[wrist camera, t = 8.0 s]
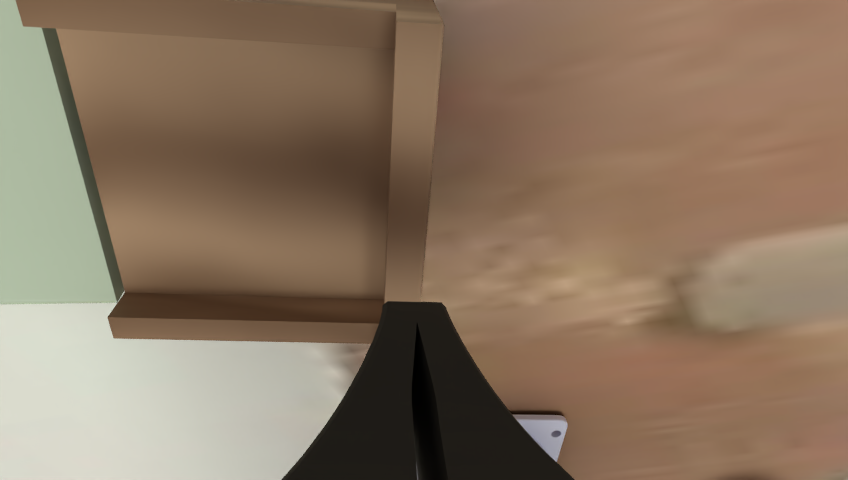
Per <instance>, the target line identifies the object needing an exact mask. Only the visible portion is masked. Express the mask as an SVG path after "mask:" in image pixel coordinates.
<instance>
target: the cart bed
mask: <svg viewBox="0 0 848 480" xmlns="http://www.w3.org/2000/svg"><path fill="white" fill-rule="evenodd" d="M16 4H17V7H18V11H19V14H20V18H21V21H22V24H23V26H24V27H40V28H56V31H57V35H58V39H59V42H60V46H61V50H62V54H63V58H64V61H65V65H66V69H67V73H68V77H69V81H70V84H71V88H72V92H73V96H74V100H75V103H76V107H77V111H78V115H79V119H80V123H81V126H82V130H83V134H84V138H85V142H86V145H87V149H88V153H89V157H90V161H91V165H92V168H93V172H94V176H95V180H96V184H97V187H98V191H99V195H100V199H101V203H102V207H103V210H104V214H105V218H106V222H107V226H108V229H109V233H110V237H111V241H112V245H113V249H114V252H115V256H116V260H117V264H118V268H119V271H120V275H121V279H122V283H123V287H124V291H125V293H124V295H123V296H122V298H121V299H120V300H119V302H118V303H117V305H116V306H115V308H114V309H113V310H112V312H111V313H110V315H109V316H108V320H109V324H110V327H111V331H112V334H113V338H124V339H172V340H220V341H268V342H316V343H363V344H371V343H372V341H373V339H374V336H375V333H376V331H377V328H378V325H379V321H380V318H381V313H382V306H383V304H385V303H386V302H387V301H402V302H421V293H422V281H423V269H424V257H425V245H426V234H427V222H428V210H429V198H430V186H431V174H432V163H433V151H434V139H435V127H436V115H437V103H438V92H439V80H440V68H441V56H442V44H443V32H444V23H443V21H442V19H441V16H440V14H439V12H438V10H437V8H436V5H435V3H434V1H433V0H16Z"/></svg>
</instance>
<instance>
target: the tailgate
mask: <svg viewBox="0 0 848 480" xmlns="http://www.w3.org/2000/svg"><path fill="white" fill-rule="evenodd" d="M123 292H124V287H123V283H122V279H121V275H120V271H119V268H118V264H117V260H116V256H115V252H114V249H113V245H112V241H111V237H110V233H109V229H108V226H107V222H106V218H105V214H104V210H103V207H102V203H101V199H100V195H99V191H98V187H97V184H96V180H95V176H94V172H93V168H92V165H91V161H90V157H89V153H88V149H87V145H86V142H85V138H84V134H83V130H82V126H81V123H80V119H79V115H78V111H77V107H76V103H75V100H74V96H73V92H72V88H71V84H70V81H69V77H68V73H67V69H66V65H65V61H64V58H63V54H62V50H61V46H60V42H59V39H58V35H57V31H56V28H40V27H24V26H23V24H22V21H21V18H20V14H19V11H18V7H17V4H16V0H0V304H57V303H117V302H118V300H119V299H120V297H121V295H122V293H123Z"/></svg>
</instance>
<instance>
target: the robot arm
mask: <svg viewBox="0 0 848 480" xmlns="http://www.w3.org/2000/svg"><path fill="white" fill-rule="evenodd" d="M566 430H567V421H566V419H565V417H563V416H561V415H512V414H511V413H510V411H509V410H508V409H507V408H506V406H505V405H504V404H503V402H502V401H501V400H500V398H499V397H498V396H497V394H496V393H495V392H494V390H493V389H492V387H491V386H490V385H489V383H488V382H487V380H486V379H485V377H484V376H483V374H482V373H481V371H480V370H479V368H478V367H477V365H476V364H475V362H474V360H473V359H472V357H471V356H470V354H469V352H468V351H467V349H466V347H465V346H464V344H463V342H462V340H461V338H460V336H459V335H458V333H457V331H456V329H455V327H454V325H453V323H452V321H451V319H450V317H449V314H448V312H447V310H446V307H445V306H444V305H443V304H442V303H439V302H402V301H387V302H386V303H385V304H383V306H382V313H381V318H380V321H379V325H378V328H377V331H376V333H375V336H374V339H373V341H372V343H371V346H370V348H369V350H368V352H367V354H366V357H365V359H364V361H363V363H362V365H361V367H360V369H359V371H358V373H357V375H356V376H355V378H354V380H353V382H352V384H351V386H350V387H349V389H348V391H347V393H346V394H345V396H344V398H343V399H342V401H341V403H340V404H339V406H338V407H337V409H336V410H335V412H334V413H333V415H332V416H331V418H330V419H329V421H328V422H327V424H326V425H325V427H324V428H323V429H322V431H321V432H320V433H319V435H318V436H317V437H316V439H315V440H314V441H313V443H312V444H311V445H310V447H309V448H308V449H307V451H306V452H305V453H304V454H303V456H302V457H301V458H300V459H299V460H298V462H297V463H296V464H295V465H294V466H293V467H292V469H291V470H290V471H289V472H288V473H287V474H286V475H285V476H284V477H283V479H282V480H574V479H573V478H572V477H571V476H570V475H569V474H568V473H567V472H566V471H565V470H564V469H563V468H562V467H561V466H560V465H559V464H558V463H557V460H558V456H559V453H560V450H561V446H562V443H563V440H564V436H565V433H566Z"/></svg>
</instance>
